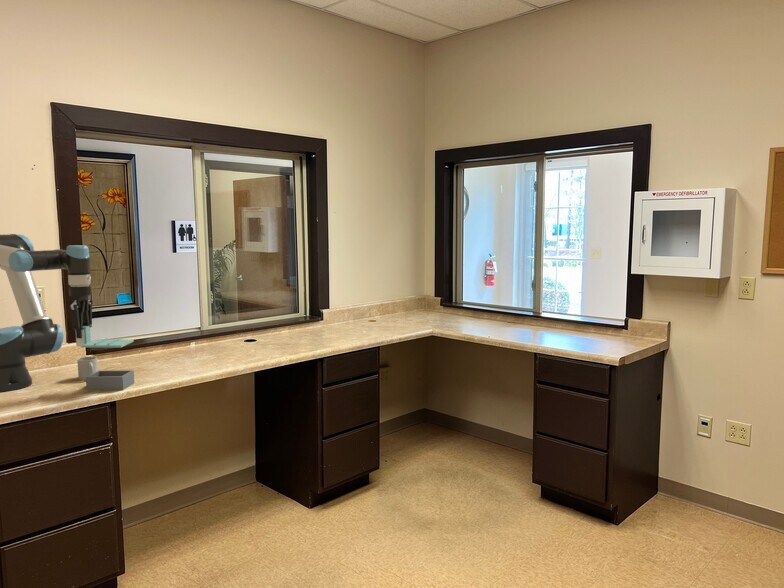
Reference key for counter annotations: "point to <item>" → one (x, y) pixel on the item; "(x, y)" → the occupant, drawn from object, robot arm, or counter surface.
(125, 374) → the tub
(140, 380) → the counter surface
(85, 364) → the cup
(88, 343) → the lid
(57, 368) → the counter surface
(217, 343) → the counter surface
